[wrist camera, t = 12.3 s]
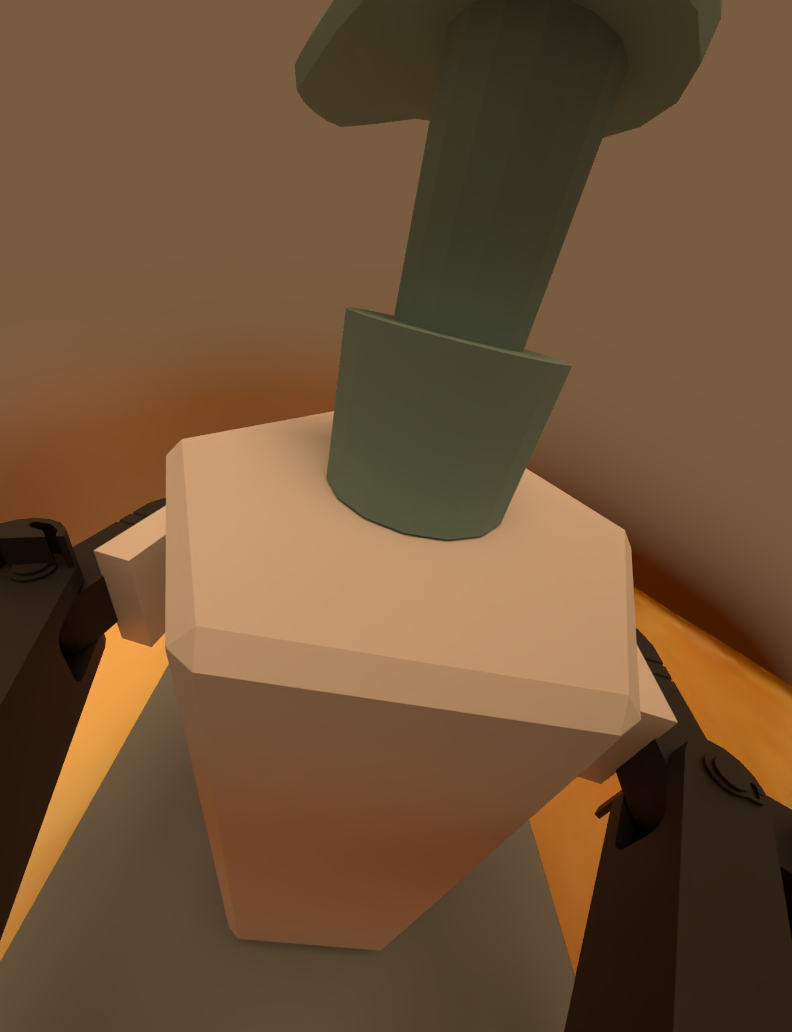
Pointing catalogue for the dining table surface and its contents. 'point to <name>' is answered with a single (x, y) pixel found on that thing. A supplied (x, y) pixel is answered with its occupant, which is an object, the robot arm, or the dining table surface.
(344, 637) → the soap bottle
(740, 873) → the robot arm
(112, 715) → the dining table surface
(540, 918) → the plate
